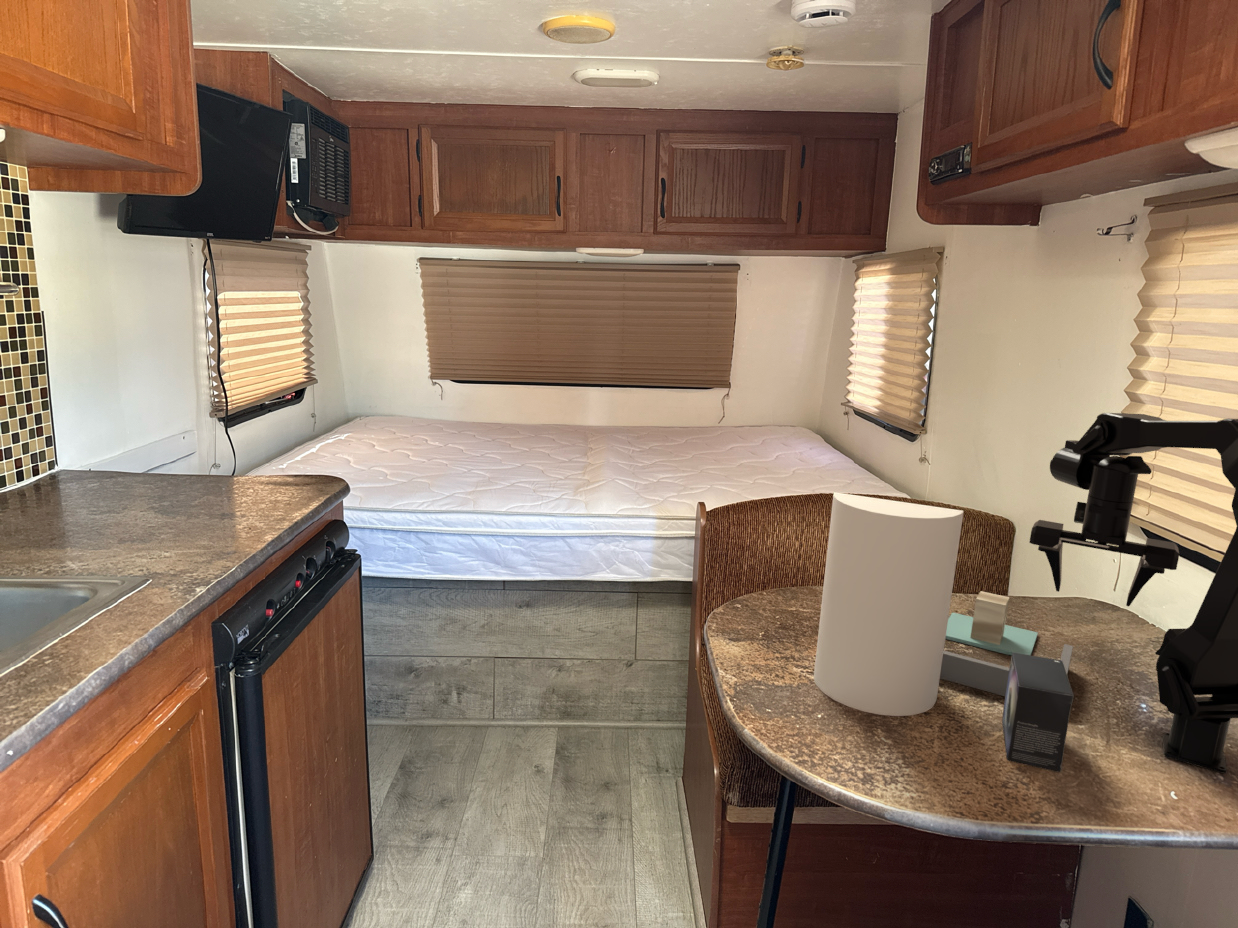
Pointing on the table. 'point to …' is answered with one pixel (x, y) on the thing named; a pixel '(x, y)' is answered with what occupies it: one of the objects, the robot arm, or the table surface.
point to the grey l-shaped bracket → (983, 671)
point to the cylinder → (886, 603)
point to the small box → (1036, 711)
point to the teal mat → (1010, 643)
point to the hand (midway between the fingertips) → (1092, 597)
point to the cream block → (989, 617)
